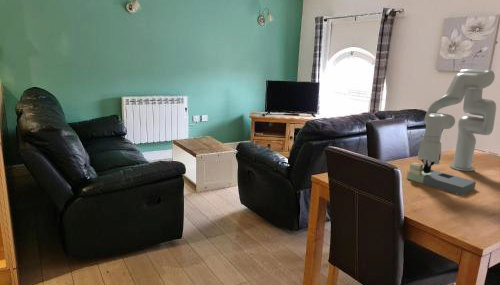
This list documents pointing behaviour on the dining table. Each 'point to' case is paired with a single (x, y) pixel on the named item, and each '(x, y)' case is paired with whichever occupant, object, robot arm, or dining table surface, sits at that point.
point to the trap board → (444, 181)
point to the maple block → (415, 168)
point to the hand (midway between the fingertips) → (426, 172)
